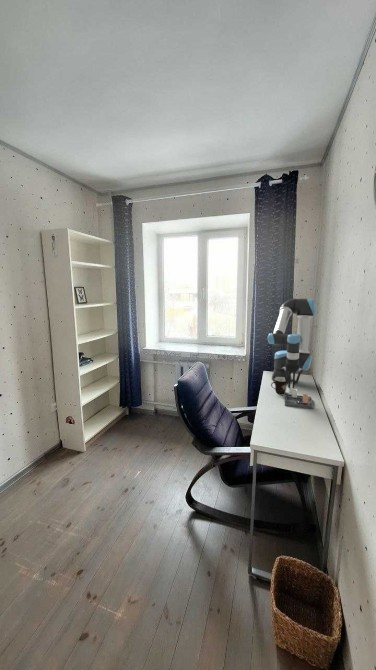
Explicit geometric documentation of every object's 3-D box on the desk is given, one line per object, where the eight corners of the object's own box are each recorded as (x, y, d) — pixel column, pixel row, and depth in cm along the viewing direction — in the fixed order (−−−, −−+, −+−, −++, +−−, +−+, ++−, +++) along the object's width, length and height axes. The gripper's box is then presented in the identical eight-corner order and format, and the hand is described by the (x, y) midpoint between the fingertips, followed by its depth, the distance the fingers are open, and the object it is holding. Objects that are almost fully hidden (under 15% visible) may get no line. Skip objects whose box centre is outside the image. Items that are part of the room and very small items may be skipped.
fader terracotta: (302, 400, 173) (303, 393, 172) (307, 401, 172) (308, 394, 171) (302, 402, 170) (303, 395, 169) (307, 403, 169) (308, 396, 168)
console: (285, 396, 185) (285, 392, 184) (311, 399, 179) (311, 395, 179) (284, 405, 172) (284, 401, 172) (312, 409, 167) (312, 404, 166)
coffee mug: (285, 390, 196) (285, 377, 194) (288, 395, 188) (288, 381, 186) (268, 390, 197) (269, 377, 195) (271, 394, 189) (271, 381, 187)
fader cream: (292, 395, 181) (292, 388, 180) (297, 395, 180) (297, 388, 179) (292, 397, 178) (292, 390, 177) (297, 397, 177) (297, 390, 176)
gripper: (281, 359, 174) (280, 393, 179) (303, 360, 169) (301, 396, 174) (282, 356, 181) (281, 389, 185) (303, 357, 176) (301, 391, 181)
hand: (291, 392), depth 180 cm, fingers closed
